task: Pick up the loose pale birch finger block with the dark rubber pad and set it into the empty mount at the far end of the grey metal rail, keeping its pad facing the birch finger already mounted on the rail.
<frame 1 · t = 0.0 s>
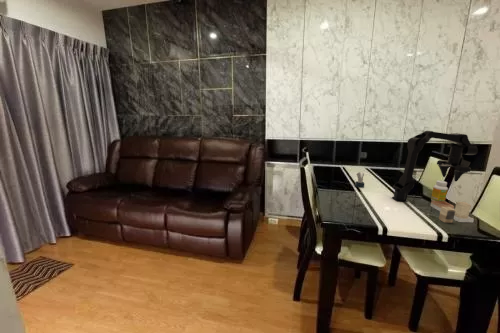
hand: (449, 179, 146), 15 cm above the table, tool pointing down, fingers open, 9 cm apart
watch: (359, 186, 175), on the table
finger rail: (450, 213, 132), on the table
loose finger: (445, 220, 123), on the table
supplement bottle: (437, 201, 150), on the table
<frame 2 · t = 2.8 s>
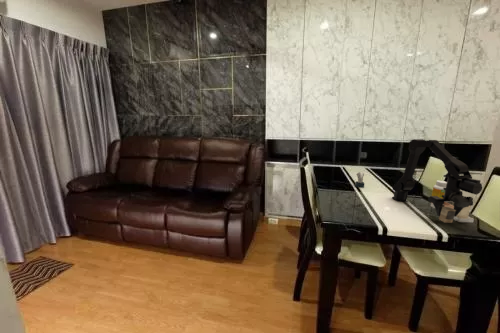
hand: (446, 216, 123), 3 cm above the table, tool pointing down, fingers open, 8 cm apart
nothing on the table moved.
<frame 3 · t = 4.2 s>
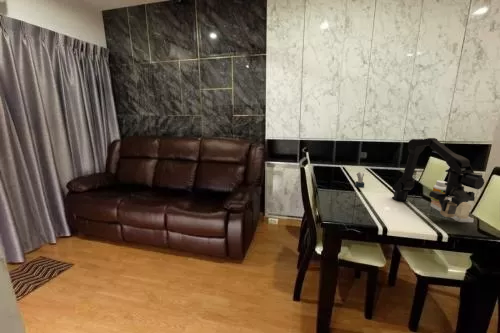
hand: (447, 211, 122), 5 cm above the table, tool pointing down, fingers closed on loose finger, 4 cm apart
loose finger: (446, 215, 123), point 3 cm above the table, touching gripper
everything else where it was.
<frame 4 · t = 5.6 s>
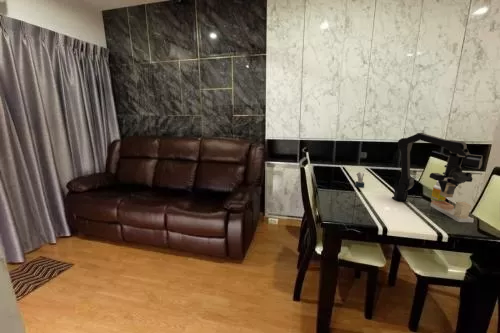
hand: (446, 192, 130), 12 cm above the table, tool pointing down, fingers closed on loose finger, 4 cm apart
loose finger: (445, 195, 131), point 10 cm above the table, touching gripper
everything else where it was.
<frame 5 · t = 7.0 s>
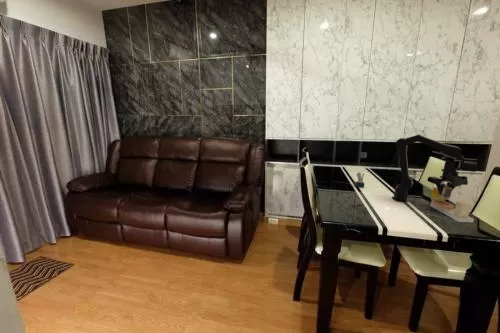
hand: (443, 194, 136), 9 cm above the table, tool pointing down, fingers closed on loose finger, 4 cm apart
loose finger: (443, 198, 137), point 6 cm above the table, touching gripper
everything else where it was.
when the fingers open (5 cm above the table, at t = 8.1 s): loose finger stays where it is, resting on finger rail.
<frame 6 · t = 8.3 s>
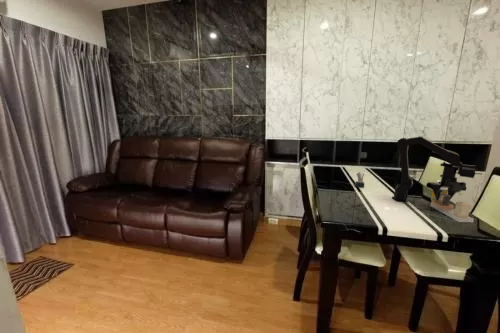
hand: (442, 200, 137), 5 cm above the table, tool pointing down, fingers open, 6 cm apart
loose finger: (441, 205, 138), point 2 cm above the table, touching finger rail
everything else where it was.
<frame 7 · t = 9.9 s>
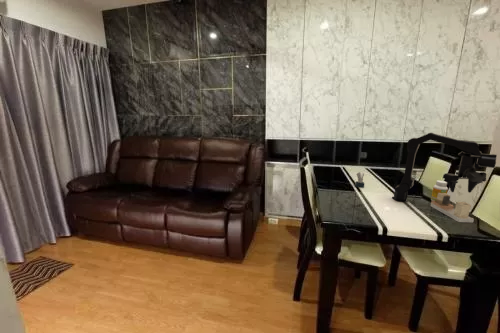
hand: (460, 192, 130), 12 cm above the table, tool pointing down, fingers open, 9 cm apart
nothing on the table moved.
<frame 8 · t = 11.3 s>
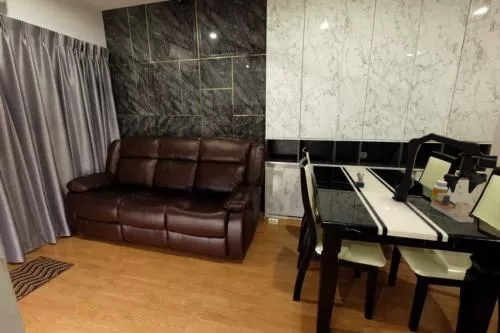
hand: (460, 193, 130), 12 cm above the table, tool pointing down, fingers open, 9 cm apart
nothing on the table moved.
at the end: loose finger 0.0 cm from the target spot on the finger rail, point 2.0 cm above the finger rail's base; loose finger tilted 0°; the gripper is holding nothing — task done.
